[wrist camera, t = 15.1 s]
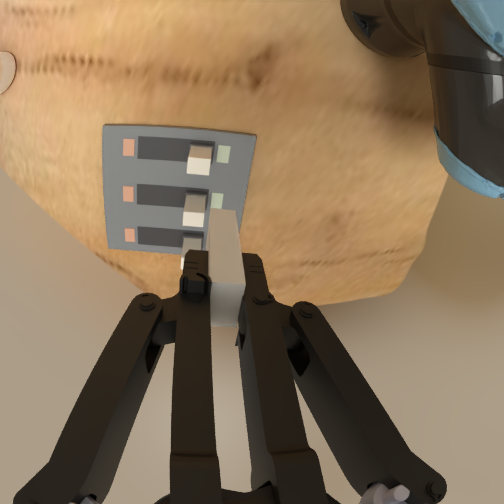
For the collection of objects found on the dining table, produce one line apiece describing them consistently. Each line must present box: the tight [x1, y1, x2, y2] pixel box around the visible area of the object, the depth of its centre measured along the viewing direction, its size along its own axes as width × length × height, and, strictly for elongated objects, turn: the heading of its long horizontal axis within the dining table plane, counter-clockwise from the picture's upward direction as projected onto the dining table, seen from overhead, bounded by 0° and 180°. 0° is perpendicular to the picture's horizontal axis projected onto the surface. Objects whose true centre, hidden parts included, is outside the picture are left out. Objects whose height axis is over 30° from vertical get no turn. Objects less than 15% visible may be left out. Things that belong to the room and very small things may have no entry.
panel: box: [102, 124, 257, 255], centre depth 41 cm, size 20×21×1 cm
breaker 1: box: [187, 143, 213, 175], centre depth 35 cm, size 2×3×6 cm
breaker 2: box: [183, 191, 207, 227], centre depth 39 cm, size 2×3×6 cm
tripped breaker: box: [181, 233, 203, 269], centre depth 43 cm, size 2×3×6 cm
